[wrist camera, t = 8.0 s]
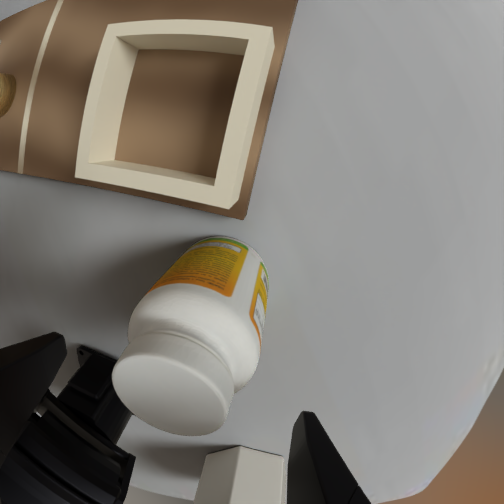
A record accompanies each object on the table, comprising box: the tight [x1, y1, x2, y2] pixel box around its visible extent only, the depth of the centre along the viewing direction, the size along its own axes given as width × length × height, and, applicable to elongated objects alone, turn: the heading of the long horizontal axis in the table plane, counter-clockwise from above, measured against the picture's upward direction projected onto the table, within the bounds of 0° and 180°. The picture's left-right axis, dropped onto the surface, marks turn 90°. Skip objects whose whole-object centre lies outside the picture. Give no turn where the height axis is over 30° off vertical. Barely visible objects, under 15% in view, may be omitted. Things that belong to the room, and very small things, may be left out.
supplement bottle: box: [112, 236, 269, 436], centre depth 13 cm, size 5×5×10 cm
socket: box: [75, 19, 275, 209], centre depth 12 cm, size 8×8×2 cm
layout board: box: [0, 0, 298, 220], centre depth 13 cm, size 14×33×1 cm, turn 77°
